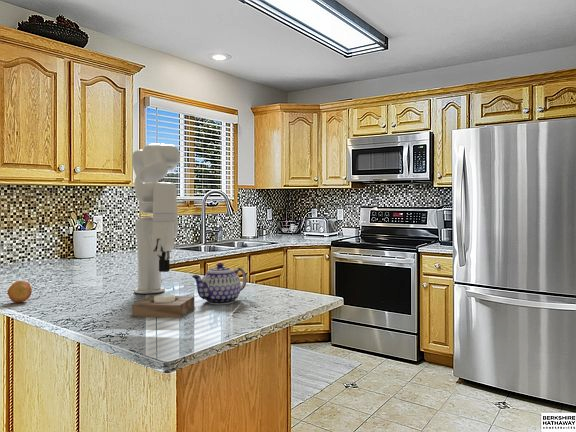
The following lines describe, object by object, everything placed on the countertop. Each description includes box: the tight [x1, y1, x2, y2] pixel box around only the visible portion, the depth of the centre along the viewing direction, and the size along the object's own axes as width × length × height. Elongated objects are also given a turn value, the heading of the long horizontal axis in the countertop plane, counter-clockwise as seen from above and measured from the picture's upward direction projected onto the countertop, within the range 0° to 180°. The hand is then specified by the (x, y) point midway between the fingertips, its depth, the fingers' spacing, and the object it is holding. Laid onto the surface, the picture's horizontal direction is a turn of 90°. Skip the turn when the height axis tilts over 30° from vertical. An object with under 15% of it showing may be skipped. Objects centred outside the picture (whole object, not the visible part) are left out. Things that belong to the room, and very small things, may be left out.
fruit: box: [7, 280, 33, 303], centre depth 176 cm, size 8×8×8 cm
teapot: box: [191, 262, 248, 305], centre depth 175 cm, size 25×15×15 cm, turn 132°
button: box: [153, 294, 176, 303], centre depth 158 cm, size 7×7×4 cm
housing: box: [131, 295, 195, 319], centre depth 158 cm, size 16×16×4 cm
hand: (164, 271), depth 158 cm, fingers closed
